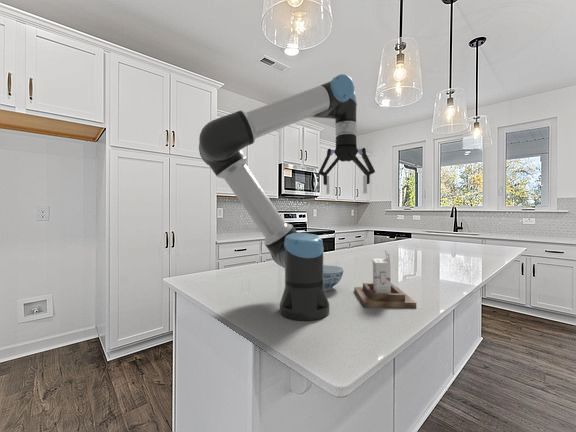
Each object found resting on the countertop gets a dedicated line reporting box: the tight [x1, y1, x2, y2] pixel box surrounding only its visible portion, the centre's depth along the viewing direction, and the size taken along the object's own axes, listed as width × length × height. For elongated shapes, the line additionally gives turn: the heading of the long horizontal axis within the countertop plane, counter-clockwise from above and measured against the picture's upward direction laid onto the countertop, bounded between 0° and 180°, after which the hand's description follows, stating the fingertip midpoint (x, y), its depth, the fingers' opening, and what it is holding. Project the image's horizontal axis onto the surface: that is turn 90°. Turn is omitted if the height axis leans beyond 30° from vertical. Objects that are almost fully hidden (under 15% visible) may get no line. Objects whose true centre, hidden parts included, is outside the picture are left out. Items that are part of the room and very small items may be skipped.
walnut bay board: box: [353, 282, 417, 309], centre depth 100 cm, size 16×18×4 cm
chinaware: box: [323, 264, 345, 292], centre depth 114 cm, size 15×15×8 cm
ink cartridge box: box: [372, 250, 392, 294], centre depth 100 cm, size 9×5×15 cm, turn 171°
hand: (346, 193), depth 106 cm, fingers open, 13 cm apart
